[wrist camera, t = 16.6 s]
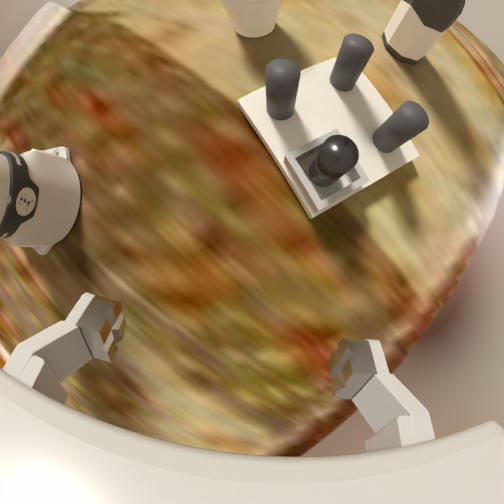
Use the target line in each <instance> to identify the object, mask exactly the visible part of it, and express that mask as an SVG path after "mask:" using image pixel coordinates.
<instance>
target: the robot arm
mask: <svg viewBox="0 0 504 504" xmlns="http://www.w3.org/2000/svg"><path fill="white" fill-rule="evenodd" d="M58 154H59V155H58ZM79 205H80V182H79V178H78V175H77V172H76V170H75V168H74V167H73V165H72V163H71V160H70V152H69V149H68V148H67V147H58V148H53V149H49V150H45V151H40V150H36V149H32V150H31V151H28V152H25V153H22V154H20V155H17V154H15V153H12V152H4V151H0V239H1V238H7V239H8V241H9V242H10V243H11V244H13V246H14V247H31V248H33V249H34V250H35V251H36V252H37V253H38V254H40V255H46V254H47V253H48V252H49V251H50V249H51V248H52V246H53V245H54V244H55V243H57V242H59V241H60V240H62V239H63V238H64V237H65V236H66V235H67V234H68V233H69V231H70V230H71V228H72V226H73V224H74V222H75V220H76V217H77V214H78V210H79ZM121 311H122V305H121V302H118V301H115V300H111V299H108V298H104V297H101V296H98V295H94V294H91V293H87V292H86V293H84V294H83V295H82V296H81V297H80V299H79V300H78V302H77V303H76V305H75V306H74V308H73V309H72V311H71V312H70V314H69V315H68V317H67V318H66V320H65V321H60V322H58V323H56V324H54V325H52V326H50V327H49V328H47V329H45V330H43V331H41V332H39V333H38V334H36V335H34V336H32V337H30V338H29V339H27V340H25V341H23V342H21V343H20V344H18V345H17V346H16V348H15V349H14V351H13V353H12V354H11V356H10V358H9V359H8V361H7V363H6V365H5V366H4V368H3V370H2V369H1V368H0V504H504V430H503V428H502V427H501V426H500V425H499V424H498V423H496V422H495V421H493V420H490V421H486V422H483V423H481V424H478V425H476V426H473V427H470V428H468V429H465V430H462V431H459V432H456V433H453V434H450V435H446V436H443V437H439V438H436V439H435V436H434V432H433V427H432V423H431V420H430V416H429V412H428V410H427V409H426V408H425V407H424V406H423V405H422V404H421V403H420V402H419V401H418V400H417V399H416V398H415V397H414V396H413V395H412V394H411V392H409V391H408V390H407V388H406V387H405V386H404V385H403V384H402V383H401V382H400V381H399V380H398V379H397V378H396V377H395V376H394V375H393V374H389V370H388V367H387V363H386V360H385V356H384V353H383V350H382V347H381V343H380V342H379V340H368V339H367V340H366V339H353V338H342V339H341V340H340V341H339V343H338V349H336V350H334V351H333V353H332V354H331V356H330V360H329V374H330V375H331V377H332V378H333V381H332V382H331V391H332V398H340V399H352V401H353V402H354V404H355V405H356V406H357V408H358V409H359V411H360V412H361V414H362V415H363V416H364V418H365V419H366V421H367V422H368V424H369V425H370V427H371V428H372V429H373V431H374V432H375V434H374V435H373V436H371V437H370V438H369V439H367V440H366V441H365V451H366V453H357V454H348V455H335V456H316V457H315V456H314V457H283V456H262V455H249V454H239V453H230V452H223V451H216V450H209V449H203V448H198V447H192V446H187V445H182V444H178V443H173V442H169V441H165V440H161V439H157V438H153V437H150V436H146V435H143V434H139V433H136V432H133V431H130V430H127V429H123V428H121V427H118V426H115V425H112V424H109V423H106V422H104V421H101V420H99V419H96V418H93V417H91V416H89V415H86V414H84V413H81V412H79V411H77V410H75V409H72V408H70V407H68V406H66V405H64V404H65V401H66V399H67V396H68V394H67V392H66V390H65V389H64V388H63V386H62V385H61V384H60V383H61V382H63V381H64V380H65V379H66V378H68V377H69V376H70V375H71V374H73V373H74V372H75V371H77V370H78V369H79V368H80V367H82V366H83V365H84V364H86V363H87V362H88V361H89V360H91V359H92V357H94V358H97V359H101V360H104V361H107V362H112V360H113V358H114V355H115V353H116V351H117V346H116V343H118V342H119V341H121V340H122V338H123V336H124V332H125V328H126V322H125V317H124V316H123V315H122V314H121Z"/></svg>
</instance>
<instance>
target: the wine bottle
mask: <svg viewBox="0 0 504 504" xmlns="http://www.w3.org/2000/svg"><path fill="white" fill-rule="evenodd" d="M464 5H465V0H401V2H400V3H399V5H398V7H397V9H396V11H395V13H394V14H393V16H392V18H391V20H390V22H389V24H388V25H387V27H386V29H385V31H384V33H383V35H382V38H383V42H384V46H385V49H387V50H388V51H389V52H390V53H391V54H392V55H393V56H394V57H396V58H397V59H398V60H400V61H403V62H407V63H410V64H413V65H414V64H415V63H416V62H418V61H419V60H420V59H422V58H423V57H424V56H425V55H426V54H427V53H428V51H429V50H430V49H431V48H432V47H433V46H434V44H435V43H436V42H437V41H438V40H439V39H440V37H441V36H442V35H443V34H444V33H445V32H446V30H447V29H448V28H449V27H450V26H451V25H452V23H453V22H454V21H455V20H456V19H457V18H458V16H459V15H460V14H461V12H462V10H463V7H464Z"/></svg>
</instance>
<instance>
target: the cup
mask: <svg viewBox="0 0 504 504" xmlns="http://www.w3.org/2000/svg"><path fill="white" fill-rule="evenodd" d="M221 2H222V4H223V6H224V8H225V10H226V12H227V14H228V16H229V18H230V21H231V23H232V25H233V27H234V29H235V31H236V32H237V33H238V34H240V35H242V36H245V37H261V36H265V35H267V34H269V33H270V32H271V31H272V30H273V29H274V27H275V22H276V18H277V14H278V10H279V6H280V2H281V0H221Z"/></svg>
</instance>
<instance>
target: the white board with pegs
mask: <svg viewBox="0 0 504 504" xmlns="http://www.w3.org/2000/svg"><path fill="white" fill-rule="evenodd" d="M373 51H374V47H373V45H372V43H371V42H370V41H369V40H368V39H367V38H366V37H364V36H362V35H359V34H348V35H346V36H345V37H344V40H343V42H342V45H341V48H340V51H339V53H338V56H337V57H335V58H332V59H330V60H327V61H324V62H321V63H319V64H316V65H313V66H311V67H308V68H306V69H303V70H301V71H300V68H299V66H298V65H297V64H296V63H295V62H293V61H291V60H288V59H275V60H273V61H271V62H269V63H268V64H267V66H266V68H265V85H266V86H264V87H262V88H260V89H258V90H256V91H254V92H252V93H250V94H248V95H246V96H244V97H242V98H240V99H238V100H237V101H238V105H239V108H240V110H241V111H242V112H243V114H244V115H245V117H246V118H247V120H248V121H249V123H250V124H251V126H252V127H253V129H254V130H255V131H256V133H257V134H258V136H259V137H260V139H261V141H262V142H263V144H264V145H265V147H266V148H267V150H268V151H269V153H270V154H271V156H272V157H273V159H274V161H275V162H276V164H277V165H278V167H279V168H280V170H281V172H282V173H283V175H284V176H285V178H286V180H287V181H288V183H289V185H290V186H291V188H292V189H293V191H294V193H295V194H296V196H297V198H298V199H299V201H300V203H301V204H302V206H303V208H304V210H305V211H306V213H307V215H308V216H309V218H310V219H312V218H314V217H316V216H317V215H319V214H321V213H322V212H324V211H326V210H328V209H329V208H331V207H333V206H334V205H336V204H338V203H340V202H341V201H343V200H345V199H346V198H348V197H350V196H352V195H353V194H355V193H357V192H358V191H360V190H362V189H364V188H365V187H367V186H369V185H370V184H372V183H374V182H375V181H377V180H379V179H381V178H382V177H384V176H386V175H387V174H389V173H391V172H393V171H394V170H396V169H398V168H399V167H401V166H403V165H405V164H406V163H408V162H410V161H411V160H413V159H415V158H417V157H418V156H420V155H419V154H418V152H417V150H416V148H415V147H414V145H413V143H412V142H411V140H410V139H412V138H413V137H415V136H416V135H418V134H419V133H421V132H422V131H424V130H425V129H426V128H427V127H428V124H429V119H428V116H427V113H426V112H425V110H424V109H423V108H422V107H421V106H420V105H419V104H418V103H416V102H413V101H406V102H404V103H403V104H402V105H401V106H400V107H399V108H398V109H397V110H396V111H395V112H394V113H393V112H392V111H391V109H390V108H389V106H388V105H387V104H386V102H385V101H384V99H383V98H382V97H381V95H380V94H379V93H378V91H377V90H376V89H375V87H374V86H373V85H372V84H371V82H370V81H369V80H368V78H367V77H366V76H365V75H364V74H363V72H362V71H363V69H364V67H365V66H366V64H367V62H368V60H369V58H370V57H371V55H372V53H373ZM337 134H338V135H344V136H347V137H349V138H350V139H351V140H352V141H353V142H354V143H355V144H356V146H357V148H358V151H359V159H358V162H357V164H356V165H355V166H354V167H353V168H352V169H351V170H349V171H348V172H347V173H346V174H344V175H343V176H342V177H341V178H339V179H338V180H337V181H336V182H334V183H333V184H332V185H330V186H328V187H319V186H317V185H315V184H314V183H313V182H312V181H311V179H310V177H309V167H310V165H311V164H312V162H313V160H314V159H315V157H316V155H317V153H318V152H319V150H320V148H321V147H322V145H323V143H324V142H325V140H326V139H327V138H328V137H330V136H332V135H337Z"/></svg>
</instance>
